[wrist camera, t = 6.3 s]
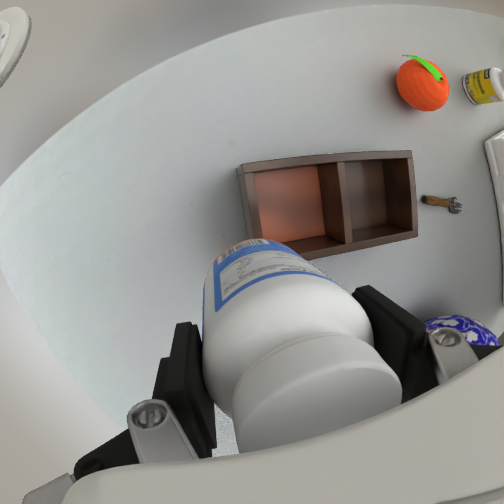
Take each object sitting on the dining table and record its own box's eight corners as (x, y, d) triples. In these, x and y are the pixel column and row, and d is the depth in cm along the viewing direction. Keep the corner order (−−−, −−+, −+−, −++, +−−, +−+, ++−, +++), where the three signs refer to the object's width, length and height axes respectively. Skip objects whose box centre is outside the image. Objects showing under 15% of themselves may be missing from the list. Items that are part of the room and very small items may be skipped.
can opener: (420, 203, 31) (426, 203, 30) (422, 185, 31) (428, 186, 30) (459, 215, 33) (464, 216, 32) (461, 200, 32) (466, 201, 31)
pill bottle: (279, 344, 18) (344, 488, 7) (189, 315, 16) (173, 480, 6) (324, 258, 16) (457, 357, 6) (229, 217, 15) (271, 298, 5)
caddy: (236, 168, 28) (241, 163, 22) (382, 153, 29) (411, 150, 24) (250, 254, 30) (258, 270, 24) (389, 228, 31) (418, 236, 26)
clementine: (371, 81, 27) (405, 64, 20) (391, 52, 26) (423, 34, 19) (414, 125, 29) (452, 118, 22) (431, 94, 28) (465, 84, 21)
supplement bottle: (459, 70, 27) (501, 58, 18) (477, 81, 28) (518, 73, 19) (463, 98, 29) (509, 90, 19) (481, 109, 29) (524, 104, 20)
